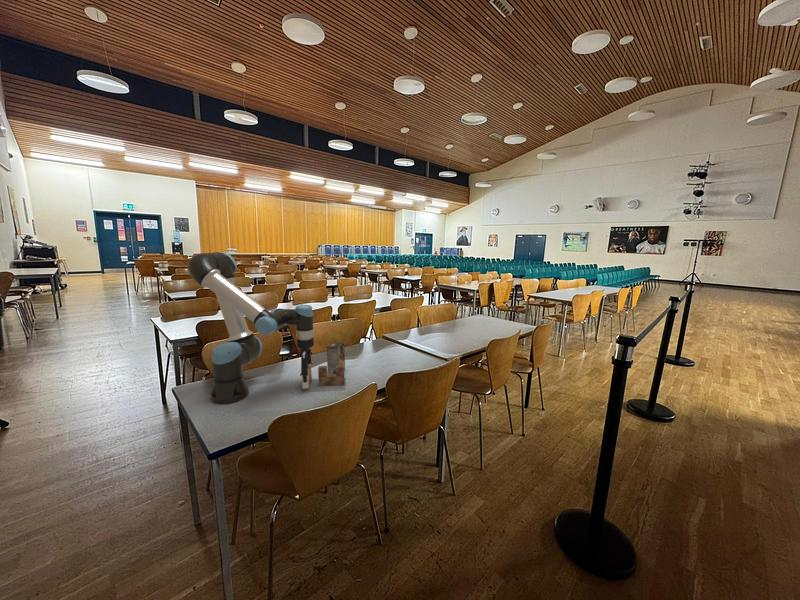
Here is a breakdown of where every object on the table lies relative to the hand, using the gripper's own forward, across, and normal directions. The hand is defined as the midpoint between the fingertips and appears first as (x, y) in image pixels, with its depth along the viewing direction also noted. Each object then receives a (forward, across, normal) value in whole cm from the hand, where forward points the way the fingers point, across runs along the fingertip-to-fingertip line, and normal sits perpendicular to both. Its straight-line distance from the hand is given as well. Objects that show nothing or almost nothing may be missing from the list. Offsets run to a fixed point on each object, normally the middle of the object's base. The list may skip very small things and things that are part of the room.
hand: (307, 383), depth 159 cm
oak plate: (+1, 0, 0) cm, 1 cm away
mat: (+2, 0, -8) cm, 8 cm away
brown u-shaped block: (+1, 0, -12) cm, 12 cm away
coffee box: (+2, +15, -13) cm, 20 cm away
